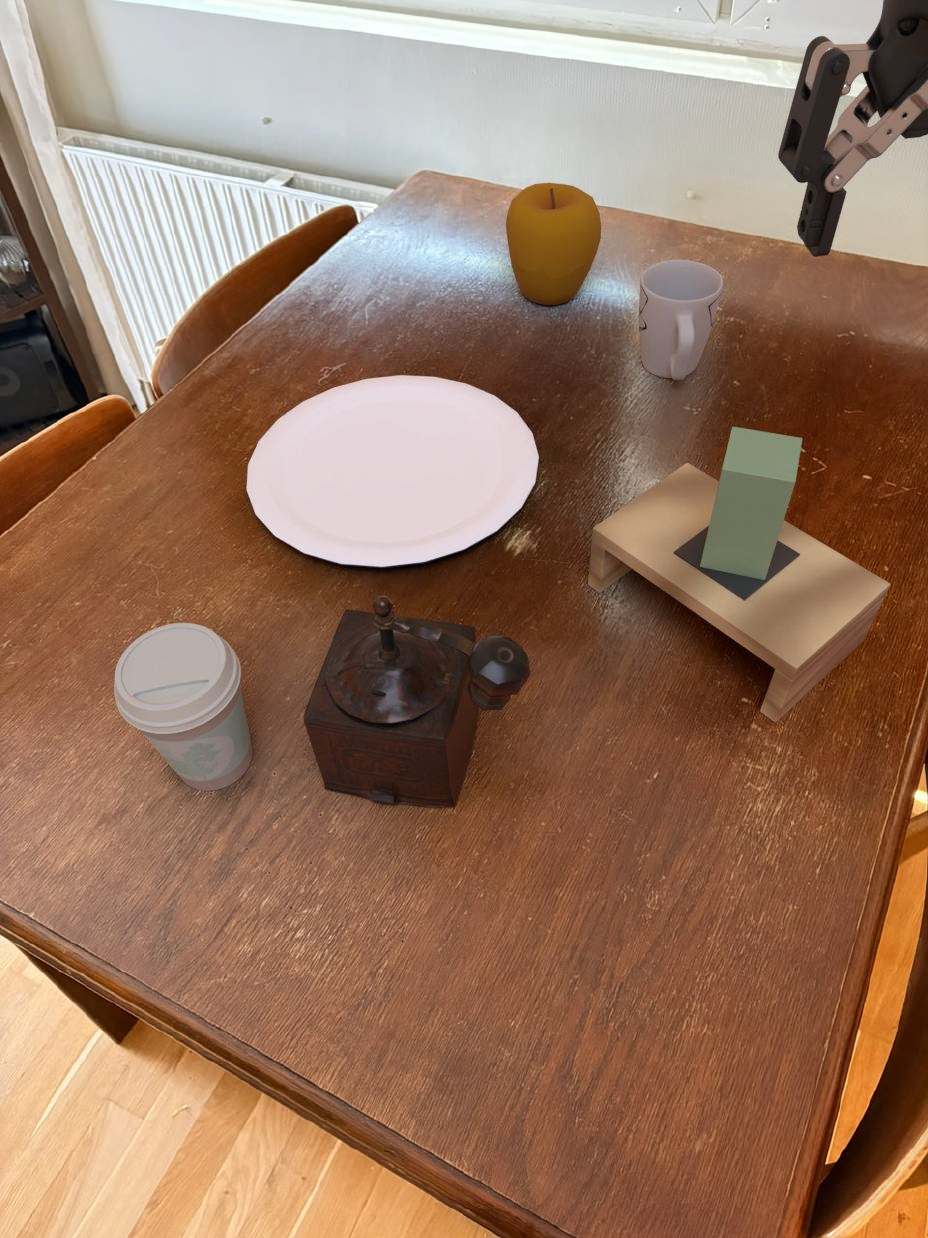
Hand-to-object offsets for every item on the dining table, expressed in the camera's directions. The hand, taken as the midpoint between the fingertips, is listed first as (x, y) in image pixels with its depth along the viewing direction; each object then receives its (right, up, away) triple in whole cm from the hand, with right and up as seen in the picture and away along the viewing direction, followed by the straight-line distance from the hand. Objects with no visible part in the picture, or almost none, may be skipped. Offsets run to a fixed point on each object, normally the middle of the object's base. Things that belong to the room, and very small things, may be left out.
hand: (888, 242), depth 51 cm
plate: (-31, -7, +40) cm, 51 cm away
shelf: (-2, -21, +26) cm, 33 cm away
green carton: (-2, -16, +20) cm, 26 cm away
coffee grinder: (-26, -32, +18) cm, 45 cm away
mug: (-1, +6, +49) cm, 49 cm away
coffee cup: (-43, -32, +19) cm, 57 cm away
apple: (-13, +19, +60) cm, 65 cm away
